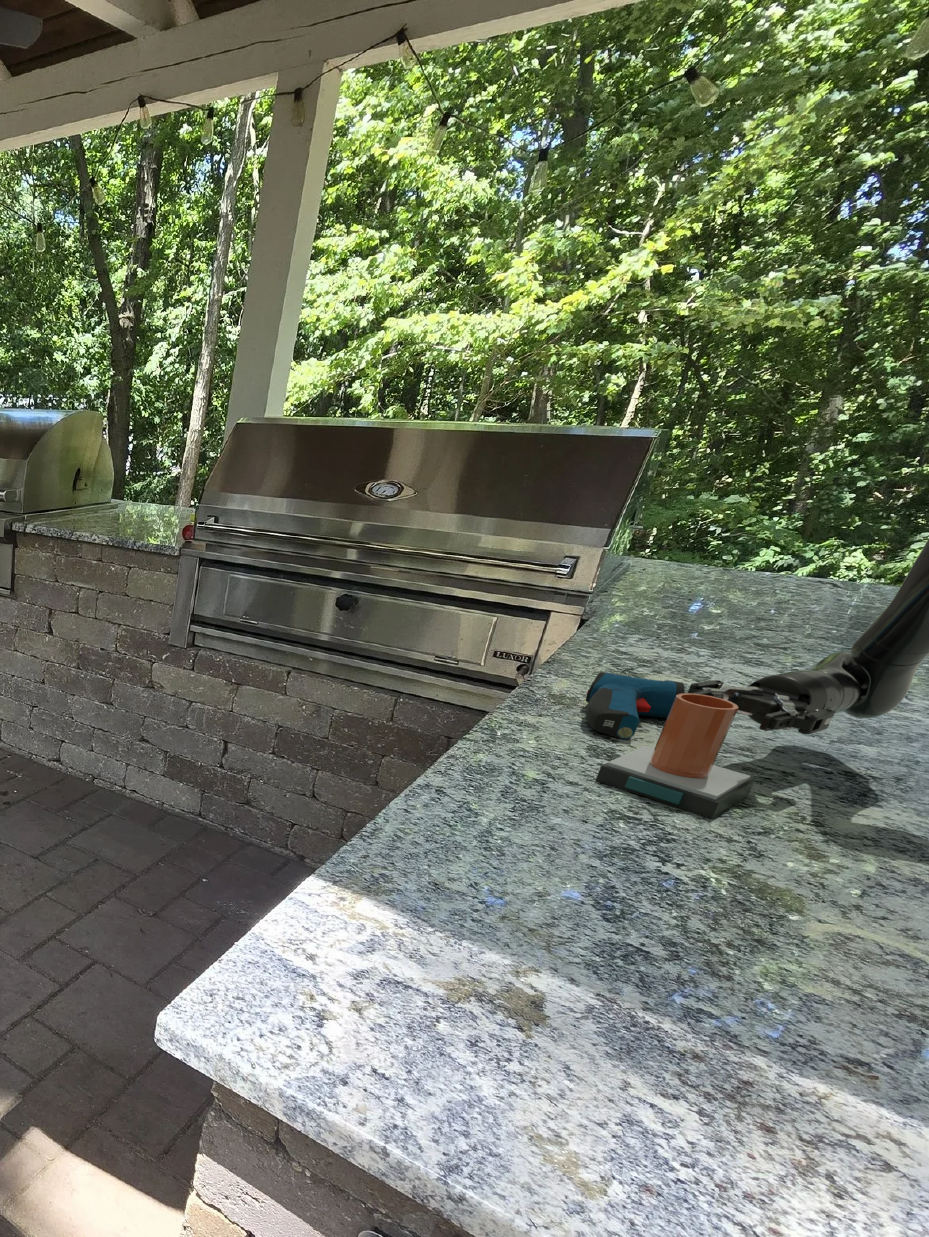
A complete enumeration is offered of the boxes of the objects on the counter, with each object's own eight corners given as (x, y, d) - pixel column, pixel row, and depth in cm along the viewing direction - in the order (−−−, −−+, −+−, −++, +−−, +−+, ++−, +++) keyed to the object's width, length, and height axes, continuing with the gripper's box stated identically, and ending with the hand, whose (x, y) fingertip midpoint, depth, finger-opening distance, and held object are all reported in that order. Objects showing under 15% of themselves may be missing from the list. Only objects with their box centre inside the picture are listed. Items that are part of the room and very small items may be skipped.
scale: (747, 795, 110) (757, 776, 109) (710, 819, 103) (719, 799, 102) (634, 761, 120) (641, 743, 119) (593, 781, 114) (601, 762, 112)
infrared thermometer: (702, 719, 122) (682, 677, 136) (595, 702, 128) (587, 664, 143) (685, 756, 124) (668, 711, 139) (581, 737, 131) (575, 696, 146)
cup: (715, 772, 110) (745, 704, 106) (697, 782, 107) (728, 712, 103) (660, 756, 115) (687, 690, 111) (641, 765, 112) (668, 698, 108)
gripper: (743, 658, 120) (677, 670, 114) (872, 689, 108) (805, 704, 102) (722, 705, 123) (657, 719, 117) (846, 740, 111) (779, 757, 105)
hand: (726, 712), depth 110 cm, fingers open, 8 cm apart
